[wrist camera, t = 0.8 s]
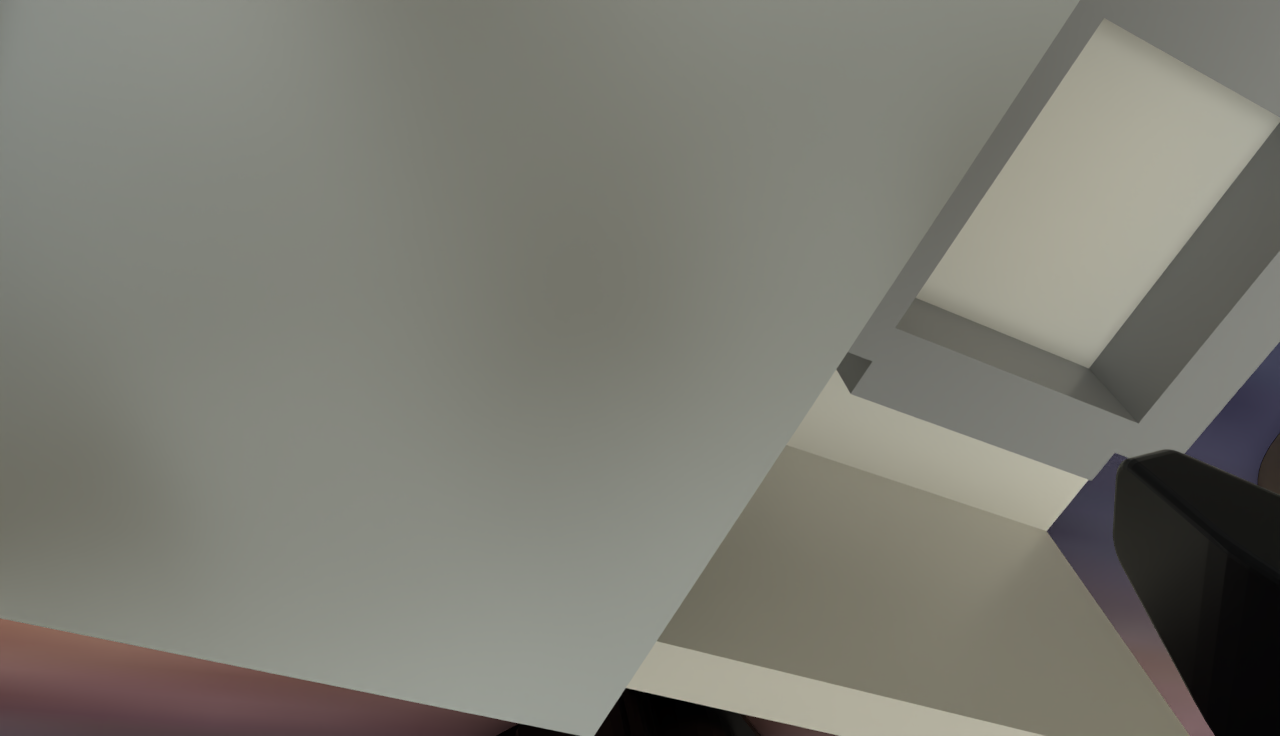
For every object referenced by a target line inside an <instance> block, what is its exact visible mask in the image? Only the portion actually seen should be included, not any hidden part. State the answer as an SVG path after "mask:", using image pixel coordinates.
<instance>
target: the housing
mask: <svg viewBox="0 0 1280 736" xmlns="http://www.w3.org/2000/svg"><path fill="white" fill-rule="evenodd" d="M1279 342H1280V0H1080V1H1079V3H1078V4H1077V6H1076V7H1075V9H1074V10H1073V12H1072V13H1071V15H1070V16H1069V18H1068V19H1067V21H1066V22H1065V24H1064V25H1063V27H1062V28H1061V30H1060V31H1059V33H1058V34H1057V36H1056V37H1055V39H1054V40H1053V42H1052V43H1051V45H1050V46H1049V48H1048V49H1047V51H1046V53H1045V54H1044V56H1043V57H1042V59H1041V60H1040V62H1039V63H1038V65H1037V66H1036V68H1035V69H1034V71H1033V72H1032V74H1031V75H1030V77H1029V78H1028V80H1027V81H1026V83H1025V84H1024V86H1023V87H1022V89H1021V90H1020V92H1019V93H1018V95H1017V96H1016V98H1015V99H1014V101H1013V102H1012V104H1011V105H1010V107H1009V109H1008V110H1007V112H1006V113H1005V115H1004V116H1003V118H1002V119H1001V121H1000V122H999V124H998V125H997V127H996V128H995V130H994V131H993V133H992V134H991V136H990V137H989V139H988V140H987V142H986V143H985V145H984V146H983V148H982V149H981V151H980V152H979V154H978V155H977V157H976V158H975V160H974V161H973V163H972V165H971V166H970V168H969V169H968V171H967V172H966V174H965V175H964V177H963V178H962V180H961V181H960V183H959V184H958V186H957V187H956V189H955V190H954V192H953V193H952V195H951V196H950V198H949V199H948V201H947V202H946V204H945V205H944V207H943V208H942V210H941V211H940V213H939V214H938V216H937V218H936V219H935V221H934V222H933V224H932V225H931V227H930V228H929V230H928V231H927V233H926V234H925V236H924V237H923V239H922V240H921V242H920V243H919V245H918V246H917V248H916V249H915V251H914V252H913V254H912V255H911V257H910V258H909V260H908V261H907V263H906V264H905V266H904V267H903V269H902V270H901V272H900V274H899V275H898V277H897V278H896V280H895V281H894V283H893V284H892V286H891V287H890V289H889V290H888V292H887V293H886V295H885V296H884V298H883V299H882V301H881V302H880V304H879V305H878V307H877V308H876V310H875V311H874V313H873V314H872V316H871V317H870V319H869V320H868V322H867V323H866V325H865V326H864V328H863V330H862V331H861V333H860V334H859V336H858V337H857V339H856V340H855V342H854V343H853V345H852V346H851V348H850V349H849V351H848V352H847V354H846V355H845V357H844V358H843V360H842V361H841V363H840V364H839V366H838V367H837V369H836V370H835V372H834V373H833V375H832V376H831V378H830V379H829V381H828V383H827V384H826V386H825V387H824V389H823V390H822V392H821V393H820V395H819V396H818V398H817V399H816V401H815V402H814V404H813V405H812V407H811V408H810V410H809V411H808V413H807V414H806V416H805V417H804V419H803V420H802V422H801V423H800V425H799V426H798V428H797V429H796V431H795V432H794V434H793V435H792V437H791V439H790V440H789V442H788V443H787V445H786V446H785V448H784V449H783V451H782V452H781V454H780V455H779V457H778V458H777V460H776V461H775V463H774V464H773V466H772V467H771V469H770V470H769V472H768V473H767V475H766V476H765V478H764V479H763V481H762V482H761V484H760V485H759V487H758V488H757V490H756V491H755V493H754V495H753V496H752V498H751V499H750V501H749V502H748V504H747V505H746V507H745V508H744V510H743V511H742V513H741V514H740V516H739V517H738V519H737V520H736V522H735V523H734V525H733V526H732V528H731V529H730V531H729V532H728V534H727V535H726V537H725V538H724V540H723V541H722V543H721V544H720V546H719V548H718V549H717V551H716V552H715V554H714V555H713V557H712V558H711V560H710V561H709V563H708V564H707V566H706V567H705V569H704V570H703V572H702V573H701V575H700V576H699V578H698V579H697V581H696V582H695V584H694V585H693V587H692V588H691V590H690V591H689V593H688V594H687V596H686V597H685V599H684V600H683V602H682V604H681V605H680V607H679V608H678V610H677V611H676V613H675V614H674V616H673V617H672V619H671V620H670V622H669V623H668V625H667V626H666V628H665V629H664V631H663V632H662V634H661V635H660V637H659V638H658V640H657V641H656V643H655V644H654V646H653V647H652V649H651V650H650V652H649V653H648V655H647V656H646V658H645V660H644V661H643V663H642V664H641V666H640V667H639V669H638V670H637V672H636V673H635V675H634V676H633V678H632V679H631V681H630V682H629V684H628V685H627V687H626V688H629V689H633V690H637V691H642V692H646V693H651V694H655V695H660V696H664V697H669V698H673V699H678V700H682V701H687V702H691V703H696V704H700V705H705V706H709V707H714V708H718V709H722V710H727V711H731V712H736V713H740V714H745V715H749V716H754V717H758V718H763V719H767V720H772V721H776V722H781V723H785V724H790V725H794V726H798V727H803V728H807V729H812V730H816V731H821V732H825V733H830V734H834V735H839V736H1189V734H1188V733H1187V731H1186V730H1185V728H1184V727H1183V726H1182V724H1181V723H1180V721H1179V720H1178V718H1177V717H1176V716H1175V714H1174V713H1173V711H1172V710H1171V708H1170V707H1169V706H1168V704H1167V703H1166V701H1165V700H1164V698H1163V697H1162V696H1161V694H1160V693H1159V691H1158V690H1157V688H1156V687H1155V686H1154V684H1153V683H1152V681H1151V680H1150V678H1149V677H1148V675H1147V674H1146V673H1145V671H1144V670H1143V668H1142V667H1141V665H1140V664H1139V663H1138V661H1137V660H1136V658H1135V657H1134V655H1133V654H1132V653H1131V651H1130V650H1129V648H1128V647H1127V645H1126V644H1125V643H1124V641H1123V640H1122V638H1121V637H1120V635H1119V634H1118V633H1117V631H1116V630H1115V628H1114V627H1113V625H1112V624H1111V623H1110V621H1109V620H1108V618H1107V617H1106V615H1105V614H1104V613H1103V611H1102V610H1101V608H1100V607H1099V605H1098V604H1097V603H1096V601H1095V600H1094V598H1093V597H1092V595H1091V594H1090V593H1089V591H1088V590H1087V588H1086V587H1085V585H1084V584H1083V583H1082V581H1081V580H1080V578H1079V577H1078V575H1077V574H1076V573H1075V571H1074V570H1073V568H1072V567H1071V565H1070V564H1069V563H1068V561H1067V560H1066V558H1065V557H1064V555H1063V554H1062V553H1061V551H1060V550H1059V548H1058V547H1057V545H1056V544H1055V543H1054V541H1053V540H1052V538H1051V537H1050V535H1049V534H1048V533H1047V530H1048V529H1049V528H1050V526H1051V525H1052V524H1053V523H1054V521H1055V520H1056V519H1057V518H1058V517H1059V515H1060V514H1061V513H1062V512H1063V510H1064V509H1065V508H1066V507H1067V505H1068V504H1069V503H1070V502H1071V501H1072V499H1073V498H1074V497H1075V496H1076V494H1077V493H1078V492H1079V491H1080V490H1081V488H1082V487H1083V486H1084V485H1085V483H1086V482H1087V481H1088V480H1091V481H1092V480H1093V479H1094V477H1095V476H1096V475H1097V474H1098V472H1099V471H1100V470H1101V469H1102V468H1103V466H1104V465H1105V464H1106V463H1107V461H1108V460H1109V459H1110V458H1111V457H1112V455H1113V454H1114V453H1117V454H1120V455H1123V456H1125V457H1128V458H1131V457H1135V456H1139V455H1143V454H1146V453H1150V452H1154V451H1158V450H1163V449H1171V450H1175V451H1178V452H1181V453H1183V454H1184V453H1185V452H1186V451H1187V450H1188V449H1189V448H1190V446H1191V445H1192V444H1193V443H1194V442H1195V441H1196V439H1197V438H1198V437H1199V436H1200V435H1201V433H1202V432H1203V431H1204V430H1205V429H1206V428H1207V426H1208V425H1209V424H1210V423H1211V422H1212V421H1213V419H1214V418H1215V417H1216V416H1217V415H1218V413H1219V412H1220V411H1221V410H1222V409H1223V408H1224V406H1225V405H1226V404H1227V403H1228V402H1229V401H1230V399H1231V398H1232V397H1233V396H1234V395H1235V393H1236V392H1237V391H1238V390H1239V389H1240V388H1241V386H1242V385H1243V384H1244V383H1245V382H1246V381H1247V379H1248V378H1249V377H1250V376H1251V375H1252V373H1253V372H1254V371H1255V370H1256V369H1257V368H1258V366H1259V365H1260V364H1261V363H1262V362H1263V361H1264V359H1265V358H1266V357H1267V356H1268V355H1269V354H1270V352H1271V351H1272V350H1273V349H1274V348H1275V346H1276V345H1277V344H1278V343H1279Z"/></svg>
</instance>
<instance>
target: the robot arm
mask: <svg viewBox="0 0 1280 736" xmlns="http://www.w3.org/2000/svg"><path fill="white" fill-rule="evenodd" d="M1113 540H1114V546H1115V550H1116V554H1117V556H1118V559H1119V561H1120V563H1121V565H1122V567H1123V569H1124V571H1125V573H1126V575H1127V577H1128V579H1129V580H1130V582H1131V584H1132V586H1133V588H1134V590H1135V592H1136V594H1137V595H1138V597H1139V599H1140V601H1141V603H1142V605H1143V607H1144V609H1145V610H1146V612H1147V614H1148V616H1149V618H1150V620H1151V622H1152V624H1153V625H1154V627H1155V629H1156V631H1157V633H1158V635H1159V637H1160V638H1161V640H1162V642H1163V644H1164V646H1165V648H1166V650H1167V652H1168V653H1169V655H1170V657H1171V659H1172V661H1173V663H1174V665H1175V667H1176V668H1177V670H1178V672H1179V674H1180V676H1181V678H1182V680H1183V681H1184V683H1185V685H1186V687H1187V689H1188V691H1189V693H1190V695H1191V696H1192V698H1193V700H1194V702H1195V703H1196V705H1197V707H1198V709H1199V710H1200V712H1201V714H1202V716H1203V717H1204V719H1205V721H1206V722H1207V724H1208V726H1209V727H1210V729H1211V730H1212V732H1213V733H1214V735H1215V736H1280V495H1279V494H1277V493H1274V492H1272V491H1270V490H1267V489H1265V488H1263V487H1260V486H1258V485H1256V484H1253V483H1251V482H1249V481H1246V480H1244V479H1242V478H1239V477H1237V476H1235V475H1232V474H1230V473H1228V472H1225V471H1223V470H1221V469H1218V468H1216V467H1214V466H1211V465H1209V464H1207V463H1204V462H1202V461H1200V460H1197V459H1195V458H1193V457H1190V456H1188V455H1186V454H1183V453H1181V452H1178V451H1175V450H1171V449H1163V450H1158V451H1154V452H1150V453H1146V454H1143V455H1139V456H1135V457H1131V458H1128V459H1126V460H1124V461H1123V462H1122V463H1121V464H1120V465H1119V467H1118V469H1117V475H1116V487H1115V504H1114V522H1113ZM497 736H579V735H574V734H569V733H564V732H559V731H554V730H549V729H544V728H539V727H535V726H530V725H525V724H518V725H516V726H514V727H512V728H510V729H508V730H506V731H504V732H502V733H501V734H499V735H497ZM594 736H761V735H760V734H759V733H758V731H757V730H756V729H755V728H754V727H753V725H752V724H751V723H750V722H749V720H748V719H747V718H746V717H745V715H744V714H740V713H736V712H731V711H727V710H722V709H718V708H714V707H709V706H705V705H700V704H696V703H691V702H687V701H682V700H678V699H673V698H669V697H664V696H660V695H655V694H651V693H646V692H642V691H637V690H633V689H629V688H625V690H624V691H623V693H622V694H621V696H620V697H619V699H618V700H617V702H616V703H615V705H614V706H613V708H612V709H611V711H610V713H609V714H608V716H607V717H606V719H605V720H604V722H603V723H602V725H601V726H600V728H599V729H598V731H597V732H596V734H595V735H594Z"/></svg>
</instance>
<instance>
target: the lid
mask: <svg viewBox="0 0 1280 736" xmlns="http://www.w3.org/2000/svg"><path fill="white" fill-rule="evenodd" d="M1079 1H1080V0H0V618H2V619H7V620H12V621H17V622H22V623H27V624H32V625H36V626H41V627H46V628H51V629H56V630H61V631H66V632H71V633H76V634H81V635H86V636H91V637H96V638H101V639H106V640H110V641H115V642H120V643H125V644H130V645H135V646H140V647H145V648H150V649H155V650H160V651H165V652H170V653H175V654H179V655H184V656H189V657H194V658H199V659H204V660H209V661H214V662H219V663H224V664H229V665H234V666H239V667H244V668H249V669H253V670H258V671H263V672H268V673H273V674H278V675H283V676H288V677H293V678H298V679H303V680H308V681H313V682H318V683H322V684H327V685H332V686H337V687H342V688H347V689H352V690H357V691H362V692H367V693H372V694H377V695H382V696H387V697H392V698H396V699H401V700H406V701H411V702H416V703H421V704H426V705H431V706H436V707H441V708H446V709H451V710H456V711H461V712H465V713H470V714H475V715H480V716H485V717H490V718H495V719H500V720H505V721H510V722H515V723H520V724H525V725H530V726H535V727H539V728H544V729H549V730H554V731H559V732H564V733H569V734H574V735H579V736H594V735H595V734H596V732H597V731H598V729H599V728H600V726H601V725H602V723H603V722H604V720H605V719H606V717H607V716H608V714H609V713H610V711H611V709H612V708H613V706H614V705H615V703H616V702H617V700H618V699H619V697H620V696H621V694H622V693H623V691H624V690H625V688H626V687H627V685H628V684H629V682H630V681H631V679H632V678H633V676H634V675H635V673H636V672H637V670H638V669H639V667H640V666H641V664H642V663H643V661H644V660H645V658H646V656H647V655H648V653H649V652H650V650H651V649H652V647H653V646H654V644H655V643H656V641H657V640H658V638H659V637H660V635H661V634H662V632H663V631H664V629H665V628H666V626H667V625H668V623H669V622H670V620H671V619H672V617H673V616H674V614H675V613H676V611H677V610H678V608H679V607H680V605H681V604H682V602H683V600H684V599H685V597H686V596H687V594H688V593H689V591H690V590H691V588H692V587H693V585H694V584H695V582H696V581H697V579H698V578H699V576H700V575H701V573H702V572H703V570H704V569H705V567H706V566H707V564H708V563H709V561H710V560H711V558H712V557H713V555H714V554H715V552H716V551H717V549H718V548H719V546H720V544H721V543H722V541H723V540H724V538H725V537H726V535H727V534H728V532H729V531H730V529H731V528H732V526H733V525H734V523H735V522H736V520H737V519H738V517H739V516H740V514H741V513H742V511H743V510H744V508H745V507H746V505H747V504H748V502H749V501H750V499H751V498H752V496H753V495H754V493H755V491H756V490H757V488H758V487H759V485H760V484H761V482H762V481H763V479H764V478H765V476H766V475H767V473H768V472H769V470H770V469H771V467H772V466H773V464H774V463H775V461H776V460H777V458H778V457H779V455H780V454H781V452H782V451H783V449H784V448H785V446H786V445H787V443H788V442H789V440H790V439H791V437H792V435H793V434H794V432H795V431H796V429H797V428H798V426H799V425H800V423H801V422H802V420H803V419H804V417H805V416H806V414H807V413H808V411H809V410H810V408H811V407H812V405H813V404H814V402H815V401H816V399H817V398H818V396H819V395H820V393H821V392H822V390H823V389H824V387H825V386H826V384H827V383H828V381H829V379H830V378H831V376H832V375H833V373H834V372H835V370H836V369H837V367H838V366H839V364H840V363H841V361H842V360H843V358H844V357H845V355H846V354H847V352H848V351H849V349H850V348H851V346H852V345H853V343H854V342H855V340H856V339H857V337H858V336H859V334H860V333H861V331H862V330H863V328H864V326H865V325H866V323H867V322H868V320H869V319H870V317H871V316H872V314H873V313H874V311H875V310H876V308H877V307H878V305H879V304H880V302H881V301H882V299H883V298H884V296H885V295H886V293H887V292H888V290H889V289H890V287H891V286H892V284H893V283H894V281H895V280H896V278H897V277H898V275H899V274H900V272H901V270H902V269H903V267H904V266H905V264H906V263H907V261H908V260H909V258H910V257H911V255H912V254H913V252H914V251H915V249H916V248H917V246H918V245H919V243H920V242H921V240H922V239H923V237H924V236H925V234H926V233H927V231H928V230H929V228H930V227H931V225H932V224H933V222H934V221H935V219H936V218H937V216H938V214H939V213H940V211H941V210H942V208H943V207H944V205H945V204H946V202H947V201H948V199H949V198H950V196H951V195H952V193H953V192H954V190H955V189H956V187H957V186H958V184H959V183H960V181H961V180H962V178H963V177H964V175H965V174H966V172H967V171H968V169H969V168H970V166H971V165H972V163H973V161H974V160H975V158H976V157H977V155H978V154H979V152H980V151H981V149H982V148H983V146H984V145H985V143H986V142H987V140H988V139H989V137H990V136H991V134H992V133H993V131H994V130H995V128H996V127H997V125H998V124H999V122H1000V121H1001V119H1002V118H1003V116H1004V115H1005V113H1006V112H1007V110H1008V109H1009V107H1010V105H1011V104H1012V102H1013V101H1014V99H1015V98H1016V96H1017V95H1018V93H1019V92H1020V90H1021V89H1022V87H1023V86H1024V84H1025V83H1026V81H1027V80H1028V78H1029V77H1030V75H1031V74H1032V72H1033V71H1034V69H1035V68H1036V66H1037V65H1038V63H1039V62H1040V60H1041V59H1042V57H1043V56H1044V54H1045V53H1046V51H1047V49H1048V48H1049V46H1050V45H1051V43H1052V42H1053V40H1054V39H1055V37H1056V36H1057V34H1058V33H1059V31H1060V30H1061V28H1062V27H1063V25H1064V24H1065V22H1066V21H1067V19H1068V18H1069V16H1070V15H1071V13H1072V12H1073V10H1074V9H1075V7H1076V6H1077V4H1078V3H1079Z"/></svg>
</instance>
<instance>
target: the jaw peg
mask: <svg viewBox="0 0 1280 736" xmlns="http://www.w3.org/2000/svg"><path fill="white" fill-rule="evenodd" d="M1258 486H1260V487H1263V488H1265V489H1267V490H1270V491H1272V492H1274V493H1277V494H1279V495H1280V434H1279V435H1278V436H1277V438H1276V439H1275V440H1274V442H1273V443H1272V444H1271V446H1270V448H1269V449H1268V451H1267V453H1266V455H1265V457H1264V459H1263V461H1262V464H1261V467H1260V470H1259V476H1258Z"/></svg>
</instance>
